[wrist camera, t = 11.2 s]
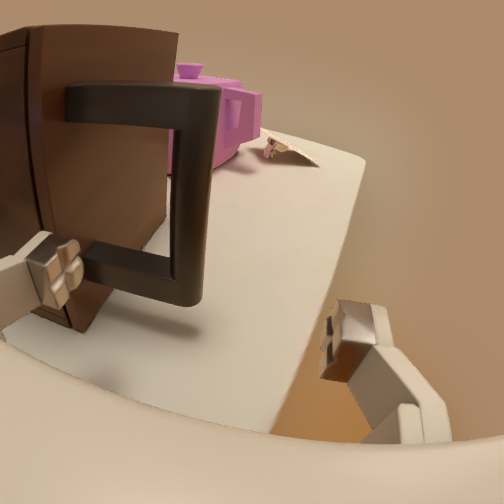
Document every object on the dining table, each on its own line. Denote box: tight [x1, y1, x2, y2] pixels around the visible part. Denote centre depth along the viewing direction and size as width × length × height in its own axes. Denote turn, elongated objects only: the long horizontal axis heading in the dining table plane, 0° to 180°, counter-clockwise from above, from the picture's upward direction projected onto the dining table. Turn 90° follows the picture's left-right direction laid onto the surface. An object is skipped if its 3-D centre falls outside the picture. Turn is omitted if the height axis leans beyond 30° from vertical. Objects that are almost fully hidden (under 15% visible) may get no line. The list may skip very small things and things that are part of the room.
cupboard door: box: [28, 24, 222, 332], centre depth 17 cm, size 7×14×15 cm, turn 171°
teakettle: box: [167, 63, 262, 174], centre depth 36 cm, size 17×17×12 cm
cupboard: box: [0, 25, 72, 328], centre depth 17 cm, size 10×14×16 cm
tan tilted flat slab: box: [260, 127, 318, 164], centre depth 44 cm, size 7×10×3 cm
